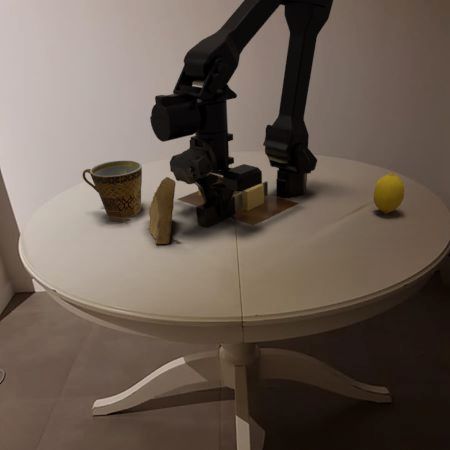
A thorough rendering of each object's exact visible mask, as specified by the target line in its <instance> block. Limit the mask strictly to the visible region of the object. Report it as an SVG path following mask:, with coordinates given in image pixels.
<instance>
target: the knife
mask: <svg viewBox="0 0 450 450" xmlns="http://www.w3.org/2000/svg"><path fill="white" fill-rule="evenodd" d="M268 182H269V181H266V180H265V181H262V183H261V184H263V185H264V197H265V196H267V195H269V192H268V191H269V188H268V187H269V184H268ZM240 208H242V192H241V193H238V194H236V195H234V196H232V198H231V200H230V202H229V205H228V207H227V209H226V212H225V214H224V215H223V216H219V214H218V209H217V200H216V199H213V200H211V201H209V202H206V203H204V204H202V205H200V206H195V210H196V211H195V212H196V221H197V225H199V226H200V227H204V228H208V227H211V226H212V225H215V224H217V223H218V222H221V221H223V220H225V219H227V218H229V216H231V215H233V214H235V211H236V210H238V209H240Z"/></svg>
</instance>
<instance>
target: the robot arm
mask: <svg viewBox="0 0 450 450" xmlns="http://www.w3.org/2000/svg"><path fill="white" fill-rule="evenodd" d="M333 4H334V0H243V2H241V3H240V5H239V6H238V7H237V8H236V9H235V10H234V12H233V13H232V14H231V15H230V17H229V18H228V19H227V20H226V21H225V22H224V24H223V25H222V26H221V27H220V28H219V29H218V30H217V31H215V33H213V34H211V35H208V36H207V37H205V38H203V39H201V40H200V41H199V42H198V43H196V44H195V45H193V46H192V47H191V48H190V49H189V50H188V51H187V52H186V54H185V56H184V58H183V67H182V69H181V71H180V75H179V77H178V79H177V81H176V83H175V86H174V88H173V89H172V93H171V94H159V95H155V96H154V101H155V104H153V107H152V108H151V115H150V117H149V119H150V120H149V121H150V126H151V129H152V131H153V133H154V135H155V137H156V138H157V140H159V141H160V142H162V143H165V142H170V141H173V140H176V139H181V138H185V137H189V136H190V139H189V148H187V149H186V150H184V151H182V152H180V153H178V154H175V155H172V157H171V158H170V160H169V169H170V172H171V173H172V174H173V177H174V178H175V181H178V182H182V183H184V184H186V185H195V186H197V187H196V188H197V189H198V188H199V190H200V192H201V195H202V197H203V199H204V202H205V203H206V202H209V201H211V200H213V199H216V200H217V209H218V214H219V216H223V215H224V214H225V212H226V209H227V207H228V205H229V202H230V200H231V198H232V195H233V193H234V192H235V191H237V192H240V191H244V190H247V189H249V188H251V187H254V186H256V185H259V184H261V183H263V172H262V170H261V169H260V168H259V167H258V166H254V165H250V164H246V163H243V164H240V165H237V166H234V167H230V165H233V164H235V157H233V156H230V149H229V147H230V146H229V142H232V141H234V133H229V125H228V124H229V123H228V122H229V121H228V105H227V104H228V102H227V101H229V100H234V99H237V97H238V94H237V93H236V92H235V90H233V89H231V88H230V86H229V84H228V83H229V82H230V80H231V79H232V78H233V75H234V74H235V73H236V71H237V69H238V67H239V64H240V59H241V54H242V53H243V50H244V49H245V48H246V47H247V45H249V43H250V42H251V41H252V39H253V38H254V37H255V36H256V35H257V33H258V32H259V31H260V30H261V29H262V27H263V26H265V24H266V22H268V20H270V18H271V17H272V16H273V14H274V13H275V12H276V11H277V9H278V8H279V7H280V6H284V13H283V16H284V19H285V22H286V26H287V28H288V31H289V38H288V44H287V45H288V46H287V53H286V60H285V68H284V74H283V81H282V89H281V93H280V94H281V95H280V101H279V103H280V104H279V109H278V115H277V117H276V118H275V120H274V122H273V123H272V124H266V127H265V137H264V141H263V143H262V146H263V147H264V153H265V155H266V157H267V159H268V163H269V165H270V167H272V168H276V169H277V170H276V179H275V180H276V181H275V182H276V183H275V184H276V185H275V186H276V187H275V188H276V189H275V197H279V198H282V199H286V200H288V199H291V198H298V197H302V196H304V195H305V194H306V191H307V182H308V175H310V174H312V172H313V171H315V170H316V167H317V164H318V158H317V157H316V156H315V155H314V154H313V152H312V151H311V150H310V149H309V139H310V138H309V137H310V134H309V131H308V129H307V125H306V121H305V114H306V113H305V112H306V106H307V102H308V101H307V100H308V93H309V87H310V82H311V76H312V71H313V70H312V69H313V63H314V58H315V52H316V51H315V50H316V46H317V40H318V35H319V34H320V32H321V31H322V29H323V28H324V26H325V25H326V23H327V22H328V20H329V18H330V16H331V15H330V14H331V11H332V8H333Z"/></svg>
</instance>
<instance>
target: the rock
mask: <svg viewBox="0 0 450 450" xmlns="http://www.w3.org/2000/svg"><path fill="white" fill-rule="evenodd" d="M175 191H176V180H173V179H172V178H170V177H168V176H166V177H164V178H163V179H162V180H161V181H160V183H159V185H158V186H157V187H156V190H155V192H154V194H153V196H152V201H151V203H150V206H149V209H148V215H149V222H148V223H149V224H148V228H147V230H149V233H150V234H151V235H152V237H153V238H154V239H155V243H156V244H157V245H168V244H169V243H170V240H171V233H172V223H173V211H174V203H175V200H174V199H175Z"/></svg>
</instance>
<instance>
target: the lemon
mask: <svg viewBox="0 0 450 450" xmlns="http://www.w3.org/2000/svg"><path fill="white" fill-rule="evenodd" d="M373 189H374V190H373V195H372V196H373V198H372V199H373V203H374V205H375V207H376V208H377V209H378V210H379V211H382V212H383V213H384V214H385V215H386V214H389V213H390V212H392V211H395V210H396V209H398V208H399V207H400V206H401V204H402V203H403V200H404V197H405V185H404V182H403V180H402V178H401V177H399V176H398V175H396V174H394V172H390V173H389V174H385V175H383V176H382V177H380V178H379V179H378V181H377V182H376V184H375V186H374V188H373Z"/></svg>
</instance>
